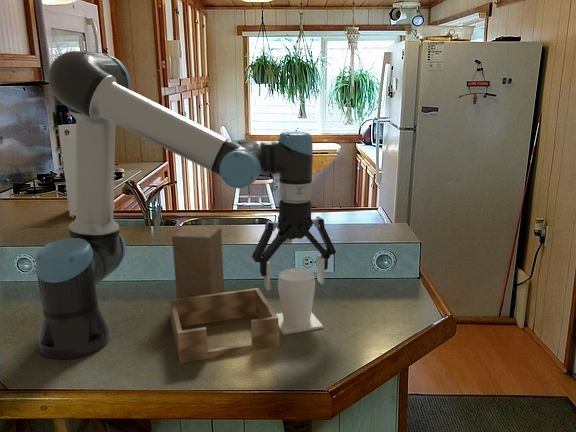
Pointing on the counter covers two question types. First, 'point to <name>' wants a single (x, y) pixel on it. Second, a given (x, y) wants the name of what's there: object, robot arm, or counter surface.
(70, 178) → the white tall tapered bar
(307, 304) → the cup
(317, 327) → the mat
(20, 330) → the counter surface
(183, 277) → the wooden block
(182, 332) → the crate
